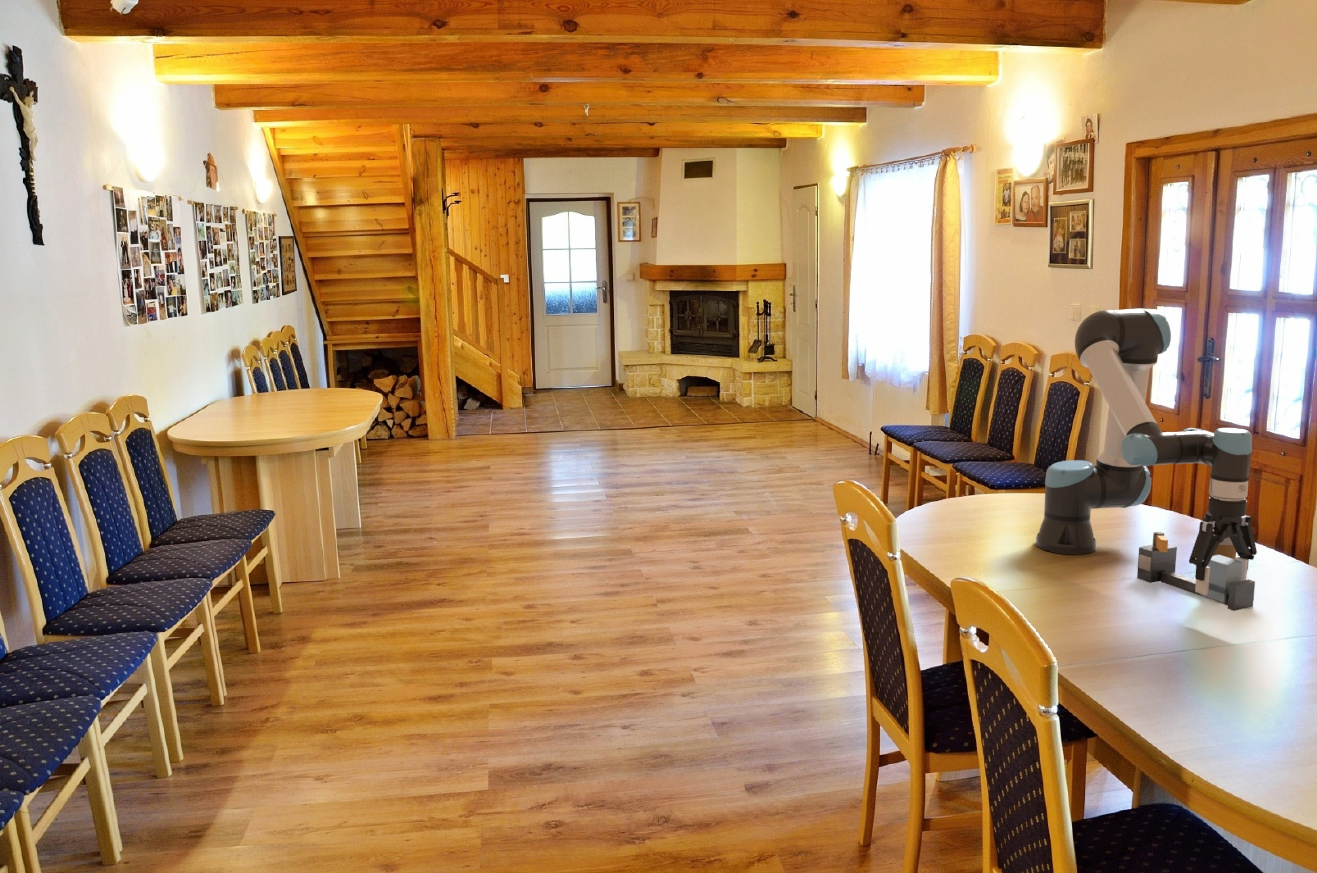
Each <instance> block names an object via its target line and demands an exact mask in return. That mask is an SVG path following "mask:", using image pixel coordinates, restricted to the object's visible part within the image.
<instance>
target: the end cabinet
mask: <svg viewBox="0 0 1317 873" xmlns="http://www.w3.org/2000/svg"><path fill="white" fill-rule="evenodd" d="M1177 550H1178V546H1175V545H1172V544H1169V543H1168V548H1167V552H1160V551H1159V550H1158V549H1157V548H1156V547H1154V546H1153V544H1150V545H1144V546H1139V547H1138V558H1137V559H1138V560H1137V573H1136V575H1137V576H1136V579H1138V580H1140V581H1143V582H1147V583H1149V584H1152V583H1158V582H1161V572H1165V571H1171V572H1174V573H1176V564H1177V554H1178V553H1177V552H1178V551H1177Z"/></svg>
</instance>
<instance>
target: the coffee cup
mask: <svg viewBox="0 0 1317 873" xmlns="http://www.w3.org/2000/svg"><path fill="white" fill-rule="evenodd" d="M1211 517H1212V515H1211V514H1210V513H1209V511H1208V510H1207V511H1206V512H1205V514H1204V516H1203V520H1202V521H1203V522H1210V520H1211ZM1213 535H1214V536H1215V534H1213ZM1215 555H1222V556H1225V557H1228V558H1232V559H1235V557H1237V552H1236V550H1235V548H1234V546H1233V544H1232V541H1231V539H1230V537H1228V538H1225V539H1224V540H1223V542H1220V544H1219V545H1218V547H1217V549H1216V551H1215V553H1214V555H1213V556H1215Z"/></svg>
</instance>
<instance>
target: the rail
mask: <svg viewBox="0 0 1317 873" xmlns="http://www.w3.org/2000/svg"><path fill="white" fill-rule="evenodd" d="M1160 583H1162V584H1164V585H1168V586H1171V587H1173V588H1177V589H1179V590H1182V591H1185V592H1189V593H1190V594H1194V595H1197V596H1199V597H1202V598H1205V599H1209V600H1211V601H1214V602H1217V603H1219V604H1222V605H1225V606H1228V598H1229V594H1227V597H1226V603H1222V602H1219V601H1217V600H1214V599H1211V598H1208V597H1205V596H1202V595H1201V594H1200V593H1198V592H1195V587H1196V578H1195V579H1194V578H1190V577H1188V576H1185V575H1182V574H1179V573H1176V572H1175V573H1174V572H1171V571H1165V572H1161V581H1160Z"/></svg>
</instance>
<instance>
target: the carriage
mask: <svg viewBox="0 0 1317 873" xmlns="http://www.w3.org/2000/svg"><path fill="white" fill-rule="evenodd" d="M1203 561H1204V560H1203ZM1242 564H1243V562H1241V561H1238V560H1235V559H1232V558H1228V557H1225V556H1222V555H1215V556H1212V558H1211V560H1210V562H1209V564H1208V565H1207V566H1208V567H1210V576H1209V588H1208V595H1203V594H1201V595H1202V596H1205V597H1208V598H1211V599H1214V600H1217V601H1219V602H1222V603H1226V597H1227V594H1229V586H1230V583H1234V582H1238V581H1241V576H1242ZM1202 596H1201V597H1202ZM1205 597H1204V598H1205ZM1208 598H1207V599H1208ZM1211 599H1210V600H1211ZM1219 602H1218V603H1219ZM1222 603H1221V604H1222Z"/></svg>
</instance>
